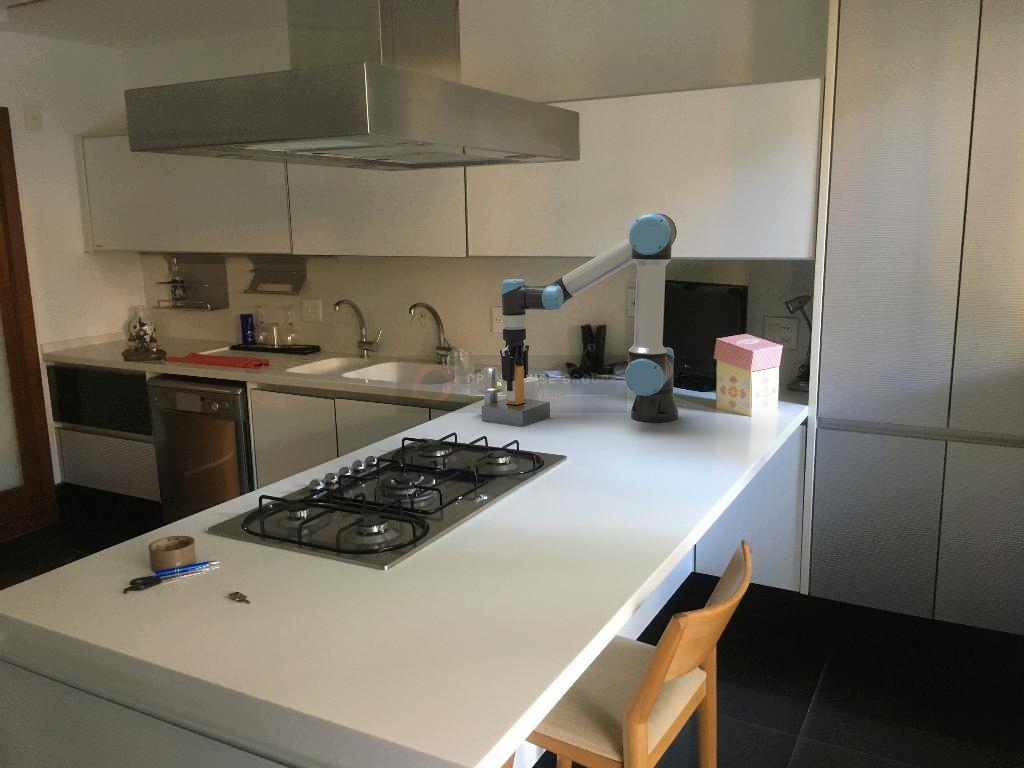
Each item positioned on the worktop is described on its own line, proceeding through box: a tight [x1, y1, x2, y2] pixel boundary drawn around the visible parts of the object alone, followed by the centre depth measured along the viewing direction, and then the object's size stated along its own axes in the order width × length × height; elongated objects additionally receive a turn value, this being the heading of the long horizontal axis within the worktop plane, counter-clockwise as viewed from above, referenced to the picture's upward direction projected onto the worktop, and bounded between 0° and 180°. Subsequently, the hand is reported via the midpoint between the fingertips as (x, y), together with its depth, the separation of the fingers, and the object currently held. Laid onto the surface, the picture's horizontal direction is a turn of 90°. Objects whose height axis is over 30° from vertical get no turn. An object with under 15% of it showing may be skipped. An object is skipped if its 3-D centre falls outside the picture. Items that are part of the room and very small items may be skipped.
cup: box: [504, 376, 540, 401], centre depth 288 cm, size 8×12×10 cm
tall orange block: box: [507, 365, 524, 405], centre depth 270 cm, size 4×4×12 cm
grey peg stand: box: [477, 366, 551, 428], centre depth 273 cm, size 22×16×16 cm
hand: (515, 399), depth 271 cm, fingers open, 4 cm apart
